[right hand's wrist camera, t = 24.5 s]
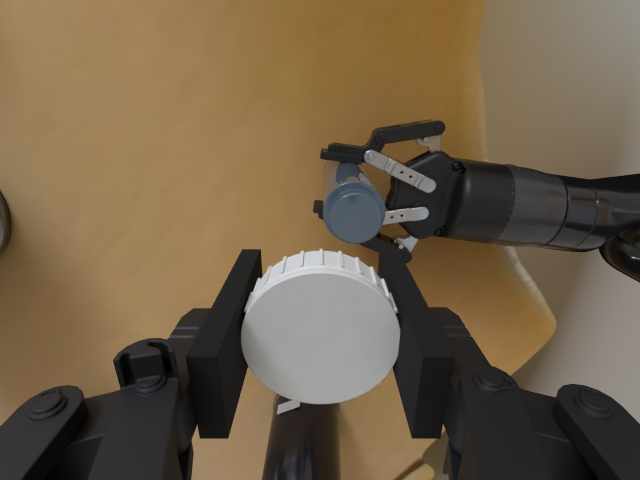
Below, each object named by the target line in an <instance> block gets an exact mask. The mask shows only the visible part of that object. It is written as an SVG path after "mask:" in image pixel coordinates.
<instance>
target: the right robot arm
mask: <svg viewBox="0 0 640 480" xmlns="http://www.w3.org/2000/svg"><path fill="white" fill-rule="evenodd" d="M9 236H10V218H9V213H8V209H7V206H6V204H5V201H4V199H3V197H2V195H1V194H0V254H1V253H2V252H3V250H4V249H5V247H6V245H7V243H8V240H9ZM378 276H379V277H380V279H384V280H385V283H386V286H387V288H388V291H389V293H390V292H391V294H392V297H393V300H394V302H395V305H396V308H397V311H398V313H396V315H397V318H398V321H399V325H400V340H399V350H398V357H397V359H396V362H395V364H394V366H393V371H394V374H395V378H396V382H397V385H398V389H399V393H400V396H401V400H402V403H403V407H404V411H405V414H406V418H407V422H408V425H409V429H410V433H411V436H412V438H440V437H441V431H442V426H443V424H444V427H445V429H446V432H447V435H448V437H449V441H448V446H447V452H446V457H445V462H444V468H443V473H444V474H447V473H448V475H449V480H640V424H639V423H638V422H637V421H636V420H635V419H634V418H633V417H632V416H631V415H630V414H629V413H628V412H627V411H626V410H625V409H624V408H623V407H622V406H621V405H620V404H619V403H617V402H616V401H615V400H614V399H613V398H611V397H610V396H608V395H606V394H604V393H602V392H600V391H599V390H596V389H593V388H590V387H587V386H584V385H577V384H569V385H564V386H562V387H561V388H560V389H559V390H558V393H557V396H556V398H555V397H551V396H547V395H543V394H538V393H534V392H530V391H527V390H523V389H520V388H519V386H518V385H517V383H516V381H515V380H514V379H513V378H512V377H511V376H509V375H508V374H507V373H506V372H504V371H502V370H500V369H498V368H496V367H493V366H491V365H490V364H489V362H488V361H487V359H486V358H485V356H484V355H483V353H482V352H481V350H480V348H479V347H478V345H477V344H476V342H475V341H474V339H473V338H472V337H471V336H470V333H469V332H468V330H467V328H465V325H464V324H463V322H462V321H461V319H460V318H459V316H458V315H456V314H455V313H454V312H452V311H451V310H450V309H448V308H447V307H428V305H427V304H426V302H425V300H424V298H423V296H422V294H421V292H420V290H419V288H418V287H417V285H416V283H415V281H414V279H413V277H412V275H411V273H410V271H409V270H408V268H407V266H406V264H405V262H404V260H403V258H402V256H401V254H400V253H399V251H398V249H380V251H379V266H378ZM258 278H262V263H261V249H242V251H241V253H240V255H239V257H238V259H237V261H236V262H235V264H234V266H233V268H232V270H231V272H230V274H229V276H228V278H227V279H226V281H225V283H224V285H223V287H222V289H221V291H220V293H219V295H218V296H217V298H216V300H215V302H214V304H213V306H212V308H194V309H192V310H191V311H190V312H188V313H187V314H186V315H184V316H183V317H182V318H181V319H180V321H179V322H178V324H177V326H176V327H175V329H174V330H173V332H172V333H171V335H170V338H168V340H165V339H162V338H149V339H145V340H141V341H138V342H136V343H133V344H131V345H129V346H127V347H126V348H124V349H123V350H122V351H120V352H119V353H118V354H117V356H116V357H115V358H114V360H113V362H114V366H115V369H116V373H117V377H118V380H119V384H120V390H118V391H115V392H112V393H108V394H104V395H99V396H95V397H91V398H87V399H85V398H84V395H83V392H82V391H81V390H80V389H79V388H78V387H75V386H69V385H66V386H59V387H54V388H52V389H49V390H46V391H43V392H41V393H39V394H37V395H36V396H34V397H32V398H30V399H29V400H28V401H26V402H25V403H24V404H23V405H22V406H20V407H19V408H18V409H17V410H16V411H15V412H14V413H13V414H12V415H11V416H10V417H9V418H8V419H7V420H6V421H5V422H4V423H3V424H2V425H1V426H0V480H191V476H192V464H193V447H192V441H191V439H192V437H193V434H194V432H195V429H196V426H197V424H198V430H199V436H200V438H228V437H229V433H230V430H231V426H232V423H233V419H234V415H235V412H236V408H237V404H238V401H239V397H240V393H241V390H242V386H243V382H244V379H245V375H246V371H247V368H248V365H247V362H246V360H245V358H244V355H243V351H242V346H241V329H242V324H243V320H244V318H245V315H246V312H244V310H245V307H246V304H247V301H248V299H249V296H250V293H251V292H253V291H254V288H255V285H256V282H257V280H258Z"/></svg>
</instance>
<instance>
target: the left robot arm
mask: <svg viewBox="0 0 640 480" xmlns="http://www.w3.org/2000/svg"><path fill="white" fill-rule="evenodd" d="M444 130H445V124H444V123H443V122H442V121H437V120H425V121H418V122H412V123H406V124H400V125H394V126H388V127H381V128H376V129H374V130H373V132H372V135H371V137H370V139H369V141H368V142H367V144H365V145H363V146H355V145H348V144H340V143H331V144H328V149H321V155H320V158H321V159H324V160H331V161H339V162H346V163H354V164H360V165H361V164H362V162H366V163H368V164H370V165H372V166H374V167H376V168H379V169H381V170H383V171H385V172H386V173H388V174H390V175H391V180H390V181H391V189H390V191H389V193H388V195H387V199H386V201H385V202H384V203H385V207H387V208H386V214H385V219H384V222H383V224H382V225H386V224H392V223H399V224H400V225H401V226H402V227H403V228H404V229H405V230H406V231H407V232H408V234H407V235H405V236H400V235H396V236H394V237H393V238H390V237H388V236H386V235H383V234H381V233H379V232H378V233H377V235H376V236H375V237H373V238H372V239H371V240H369V241H366V242H364V243H358V244H360V245H362V246H365V247H367V248H370V249H372V250H374V251H377V252H379V251H380V249H398V251H399V253H400V254H401V256H402V258H403V260H404V262H405V263H408V262H410V261H411V259H412V255H411V251H412V250H413V248H414V246H415V244H416V243H417V241H418V239H424V238H427V237H431V236H437V237H443V238H450V239H458V240H466V241H473V242H481V243H489V244H496V245H504V246H517V247H519V246H530V247H539V248H547V249H555V250H563V251H571V252H587V251H591V250H595V249H597V248H598V249H599V251H600V254H601V256H602V257H603V259H604V260H605V261H606V262H607V263H608V264H609V265H610V266H612V267H613V268H615V269H616V270H618V271H620V272H622V273H623V274H625V275H627V276H629V277H631V278H632V279H634V280H636V281H638V282H640V174H633V175H625V176H617V177H608V178H600V179H590V180H589V179H582V178H575V177H568V176H561V175H553V174H547V173H544V172H540V171H537V170H534V169H529V168H523V167H517V166H514V165H510V164H505V165H502V164H495V163H487V162H480V161H473V160H466V159H459V158H452V157H450V156H448V155H447V154H446V153H445V152H443V151H441V134H442V133H443V132H444ZM413 139H415V141H416V143H417V144H419V145H421V146H426V147H427V148H428V151H427V152H425V153H423V154H421V155H419V156H417V157H415V158H413V159H412V160H410V161H408V162H406V163H402V162H400V161H398V160H396V159H394V158H392V157H390V156H387V155H385V154H383V153H381V150H382V148H383V146H384V145H385V144H387V143H394V142H400V141H406V140H413ZM313 212H314V213H319V218H321V219H323V201H320V200H315V201H314V207H313ZM391 216H392V217H391ZM323 220H324V219H323ZM338 412H339V408H338V403H332V404H310V403H303V402H298V401H295V400H291V399H288V398H286V397H284V396H281V395H279V394H277V396H276V398H275V401H274V406H273V417H272V423H271V428H270V434H269V440H268V446H267V452H266V458H265V464H264V470H263V476H262V480H341V472H340V449H339V425H338Z"/></svg>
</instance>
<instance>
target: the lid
mask: <svg viewBox="0 0 640 480" xmlns="http://www.w3.org/2000/svg"><path fill="white" fill-rule="evenodd" d="M244 312H246V315H245V318H244V320H243V324H242V329H241V346H242V351H243V355H244V358H245V360H246V362H247V365H248V366H249V368H250V369H251V371H252V373H253V374H254V375H255V376H256V377H257V379H258V380H259V381H261V382H262V383H263V384H264V385H265V386H266V387H268V388H269V389H271V390H272V391H274V392H276V393H277V394H279V395H281V396H284V397H286V398H288V399H291V400H295V401H298V402H303V403H310V404H332V403H339V402H343V401H347V400H350V399H353V398H356V397H358V396H360V395H363V394H364V393H366V392H368V391H370V390H371V389H373V388H374V387H375V386H377V385H378V384H379V383H380V382H381V381H382V380H383V379H384V378H385V377H386V376H387V375H388V373H389V372H390V371H391V369H392V367H393V366H394V364H395V362H396V359H397V357H398V350H399V340H400V325H399V321H398V318H397V315H396V313H398V311H397V308H396V305H395V302H394V300H393V297H392V294H391V292H390V293H389V291H388V288H387V286H386V283H385V280H384V279H380V277H379V276H378V275H377V274H376V273H375V271H374V268H373V267H372V266H371V267H369V266H367V265H366V264H364V263H363V262H361V261H360V260H359V257H356V258H353V257H351V256H348V255H345V254H342V251H338V253H337V252H331V251H323V249H320V251H310V252H304V250H303V251H301V253H300V254H296V255H293V256H291V257H288V258H287V257H286V256H285V257H283V260H282V261H281V262H279V263H277V264H276V265H275V266H273V267H272V266H269V268H268V271H267V272H266V273H265V274H264V276H263V277H262V278H258V280H257V282H256V285H255V288H254V291H253V292H251V293H250V296H249V299H248V301H247V304H246V307H245V310H244Z"/></svg>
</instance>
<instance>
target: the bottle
mask: <svg viewBox="0 0 640 480" xmlns="http://www.w3.org/2000/svg"><path fill="white" fill-rule="evenodd" d="M385 214H386V207H385V203H384V200H383V198H382V196H381V194H380V193H379V191H378V189H377V188H376V186H375V185H374V183H373V181H372V180H371V178H370V177H369V175H368V173H367V172H366V170H365V169H364V167H363V165H362V164H361V165H360V164H354V163H346V162H339V161H331V160H327V162H326V164H325V166H324V172H323V219H324V222H325V225H326V227H327V228H328V230H329V231H330V232H331V233H332V234H333V235H334V236H336V237H337V238H339V239H341V240H342V241H345V242H347V243H354V244H358V243H364V242H366V241H369V240H371V239H372V238H373V237H375V236H376V235H377V233H378V232H379V231H380V229H381V227H382V224H383V222H384V219H385Z"/></svg>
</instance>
